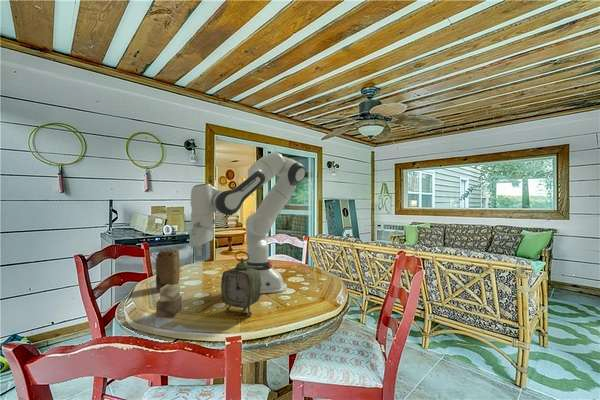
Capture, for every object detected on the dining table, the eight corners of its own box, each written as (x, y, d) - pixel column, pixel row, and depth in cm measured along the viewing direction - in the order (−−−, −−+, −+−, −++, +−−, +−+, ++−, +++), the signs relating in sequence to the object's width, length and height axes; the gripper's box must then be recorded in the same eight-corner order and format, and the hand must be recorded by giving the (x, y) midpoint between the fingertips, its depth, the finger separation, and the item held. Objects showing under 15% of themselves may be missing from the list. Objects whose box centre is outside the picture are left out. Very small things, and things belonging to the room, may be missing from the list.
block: (180, 285, 150) (181, 248, 150) (173, 290, 143) (174, 251, 143) (161, 285, 151) (161, 248, 151) (153, 290, 143) (153, 250, 143)
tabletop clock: (221, 312, 115) (221, 251, 115) (234, 305, 123) (234, 248, 123) (250, 318, 109) (251, 254, 109) (263, 310, 118) (263, 250, 118)
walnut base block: (181, 310, 118) (181, 296, 118) (174, 317, 111) (174, 302, 111) (164, 310, 117) (164, 296, 117) (156, 317, 110) (156, 302, 110)
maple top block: (179, 296, 117) (179, 284, 117) (173, 301, 111) (173, 288, 111) (166, 296, 117) (166, 284, 117) (159, 301, 111) (159, 288, 111)
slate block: (209, 258, 123) (209, 242, 123) (206, 260, 118) (205, 244, 118) (198, 258, 123) (198, 242, 123) (194, 260, 118) (194, 244, 118)
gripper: (201, 223, 110) (201, 259, 110) (216, 219, 130) (216, 249, 130) (184, 223, 110) (185, 259, 110) (202, 219, 130) (203, 249, 130)
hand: (202, 253), depth 120 cm, fingers closed on slate block, 5 cm apart
